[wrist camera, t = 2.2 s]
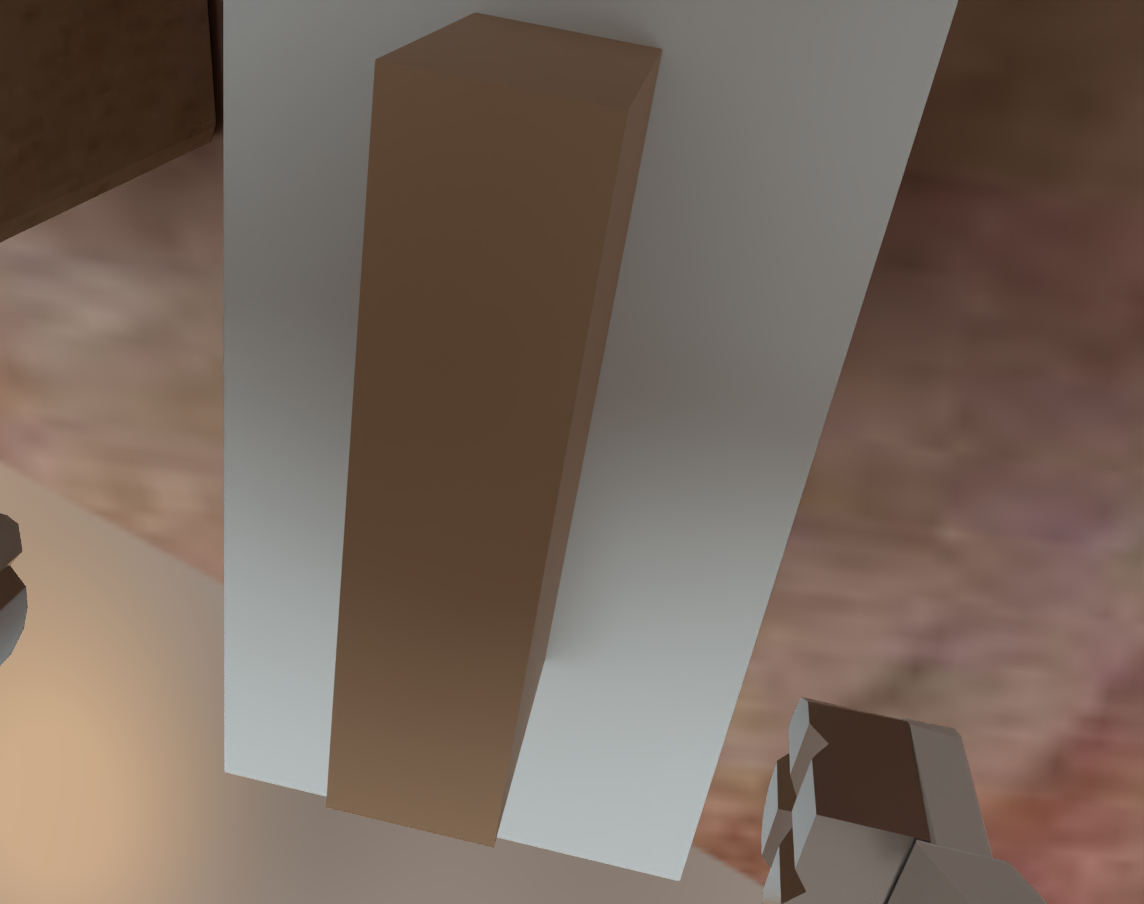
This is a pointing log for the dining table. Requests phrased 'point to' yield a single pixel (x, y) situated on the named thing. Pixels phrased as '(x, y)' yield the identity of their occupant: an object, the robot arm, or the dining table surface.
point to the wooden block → (96, 98)
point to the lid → (534, 385)
